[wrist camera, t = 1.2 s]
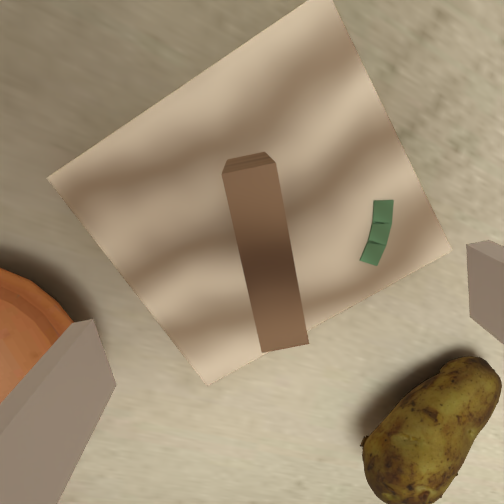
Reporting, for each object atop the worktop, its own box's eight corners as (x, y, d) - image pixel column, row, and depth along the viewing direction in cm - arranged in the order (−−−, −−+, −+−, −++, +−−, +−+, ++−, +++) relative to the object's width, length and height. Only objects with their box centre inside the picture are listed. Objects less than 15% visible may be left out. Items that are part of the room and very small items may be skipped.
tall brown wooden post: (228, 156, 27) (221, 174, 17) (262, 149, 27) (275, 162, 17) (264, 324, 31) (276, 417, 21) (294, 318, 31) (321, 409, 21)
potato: (494, 409, 36) (562, 484, 29) (361, 457, 38) (391, 542, 30) (472, 334, 34) (539, 395, 26) (330, 389, 35) (355, 461, 28)
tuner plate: (55, 175, 29) (45, 178, 27) (321, -5, 26) (327, -14, 24) (208, 375, 34) (207, 387, 33) (442, 245, 31) (454, 251, 30)
